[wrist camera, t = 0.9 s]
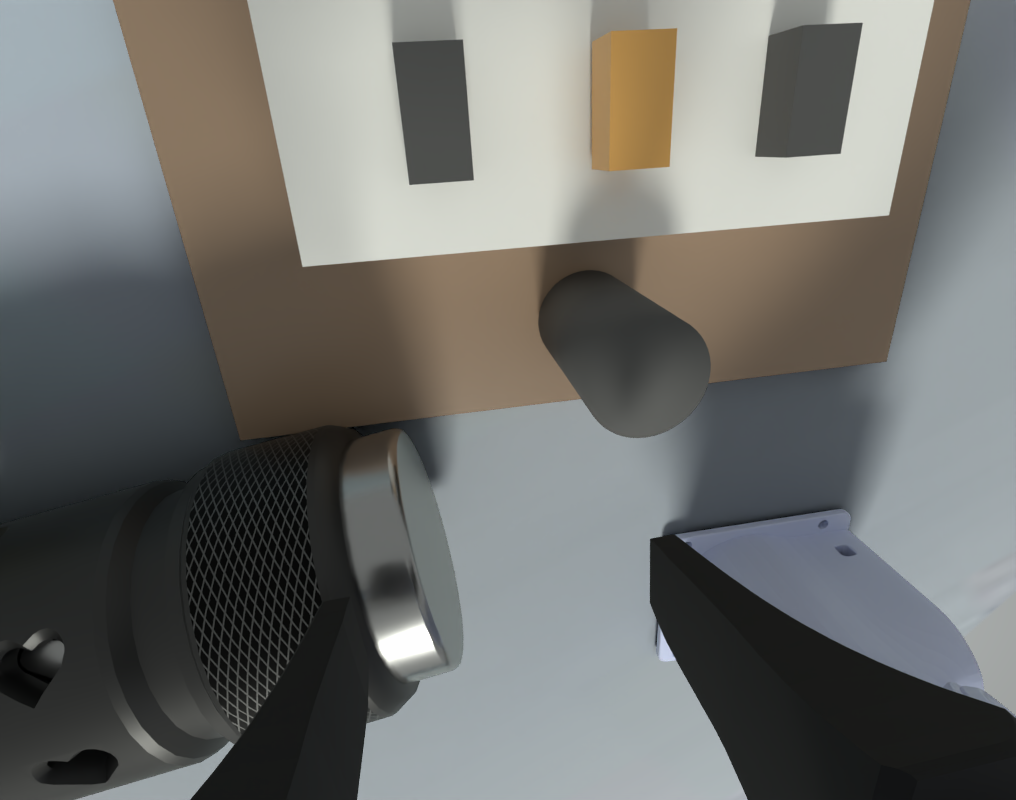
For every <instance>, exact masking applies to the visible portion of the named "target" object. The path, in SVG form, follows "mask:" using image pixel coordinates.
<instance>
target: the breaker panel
mask: <svg viewBox="0 0 1016 800" xmlns="http://www.w3.org/2000/svg"><path fill="white" fill-rule="evenodd" d="M970 1H971V0H113V2H114V5H115V9H116V12H117V16H118V19H119V23H120V26H121V29H122V33H123V36H124V40H125V43H126V47H127V50H128V54H129V57H130V61H131V64H132V67H133V71H134V74H135V78H136V81H137V85H138V88H139V92H140V95H141V99H142V102H143V105H144V109H145V112H146V116H147V119H148V123H149V126H150V130H151V133H152V137H153V140H154V144H155V147H156V150H157V154H158V157H159V161H160V164H161V168H162V171H163V175H164V178H165V182H166V185H167V188H168V192H169V195H170V199H171V202H172V206H173V209H174V213H175V216H176V220H177V223H178V226H179V230H180V233H181V237H182V240H183V244H184V247H185V251H186V254H187V258H188V261H189V264H190V268H191V271H192V275H193V278H194V282H195V285H196V289H197V292H198V296H199V299H200V303H201V306H202V309H203V313H204V316H205V320H206V323H207V327H208V330H209V334H210V337H211V341H212V344H213V347H214V351H215V354H216V358H217V361H218V365H219V368H220V372H221V375H222V379H223V382H224V385H225V389H226V392H227V396H228V399H229V403H230V406H231V410H232V413H233V417H234V420H235V423H236V427H237V430H238V434H239V437H240V441H241V440H249V439H257V438H265V437H273V436H281V435H290V434H296V433H299V432H303V431H307V430H310V429H314V428H318V427H321V426H325V425H334V426H341V427H345V428H347V427H355V426H363V425H371V424H380V423H388V422H396V421H404V420H412V419H420V418H429V417H437V416H445V415H453V414H461V413H469V412H478V411H486V410H494V409H502V408H510V407H518V406H527V405H535V404H543V403H551V402H559V401H567V400H576V399H581V397H580V396H579V395H578V393H577V392H576V390H575V389H574V387H573V386H572V384H571V383H570V382H569V380H568V379H567V377H566V376H565V374H564V373H563V371H562V370H561V369H560V367H559V366H558V364H557V363H556V361H555V360H554V358H553V357H552V355H551V354H550V353H549V351H548V350H547V348H546V347H545V345H544V343H543V341H542V339H541V336H540V332H539V326H538V319H539V312H540V308H541V305H542V303H543V301H544V299H545V297H546V295H547V294H548V292H549V291H550V290H551V288H552V287H553V286H554V285H555V284H556V283H558V282H559V281H560V280H561V279H563V278H565V277H566V276H568V275H571V274H573V273H576V272H579V271H585V270H596V271H601V272H605V273H607V274H610V275H612V276H613V277H615V278H617V279H618V280H620V281H621V282H623V283H625V284H626V285H628V286H629V287H631V288H633V289H634V290H636V291H637V292H639V293H640V294H642V295H644V296H645V297H647V298H648V299H650V300H652V301H653V302H655V303H656V304H658V305H660V306H661V307H663V308H664V309H666V310H667V311H669V312H671V313H672V314H674V315H675V316H677V317H679V318H680V319H682V320H683V321H685V322H687V323H688V324H690V325H691V326H692V327H693V328H695V329H696V330H697V331H698V333H699V334H700V335H701V336H702V338H703V339H704V341H705V343H706V345H707V348H708V351H709V355H710V362H711V372H710V378H709V382H708V383H715V382H723V381H731V380H739V379H747V378H755V377H764V376H772V375H780V374H788V373H796V372H804V371H813V370H821V369H829V368H837V367H845V366H853V365H862V364H870V363H878V362H886V361H887V357H888V352H889V348H890V344H891V339H892V335H893V331H894V327H895V322H896V318H897V314H898V309H899V305H900V301H901V297H902V292H903V288H904V284H905V279H906V275H907V271H908V267H909V262H910V258H911V254H912V249H913V245H914V241H915V236H916V232H917V228H918V224H919V219H920V215H921V211H922V206H923V202H924V198H925V194H926V189H927V185H928V181H929V176H930V172H931V168H932V164H933V159H934V155H935V151H936V146H937V142H938V138H939V134H940V129H941V125H942V121H943V116H944V112H945V108H946V104H947V99H948V95H949V91H950V86H951V82H952V78H953V74H954V69H955V65H956V61H957V56H958V52H959V48H960V43H961V39H962V35H963V31H964V26H965V22H966V18H967V13H968V9H969V5H970ZM671 28H677V43H676V61H675V79H674V97H673V115H672V133H671V151H670V167H661V168H647V169H633V170H620V171H603V170H595V169H592V42H593V41H594V40H596V39H598V38H600V37H602V36H603V35H605V34H607V33H609V32H610V31H623V30H647V29H671Z"/></svg>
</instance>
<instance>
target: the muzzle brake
mask: <svg viewBox="0 0 1016 800" xmlns="http://www.w3.org/2000/svg"><path fill="white" fill-rule="evenodd" d="M345 597H350V598H351V601H352V604H353V608H354V611H355V615H356V618H357V622H358V625H359V629H360V632H361V636H362V639H363V643H364V646H365V649H366V653H367V656H368V660H369V688H368V712H367V721H366V723H369V722H373V721H376V720H379V719H383V718H386V717H389V716H392V715H394V714H395V713H397V712H398V711H399V710H400V708H401V707H402V706H403V705H404V704H405V703H406V702H407V701H408V700H409V699H410V698H411V697H412V696H413V694H414V693H415V692H416V690H417V687H418V685H419V682H420V680H422V679H426V678H429V677H433V676H436V675H439V674H443V673H446V672H449V671H453V670H455V669H456V668H457V667H458V666H459V664H460V663H461V659H462V653H463V623H462V615H461V607H460V600H459V594H458V588H457V583H456V578H455V573H454V568H453V564H452V559H451V554H450V550H449V546H448V542H447V538H446V534H445V530H444V527H443V523H442V519H441V516H440V512H439V509H438V506H437V502H436V499H435V496H434V493H433V490H432V487H431V484H430V481H429V478H428V476H427V473H426V470H425V468H424V465H423V463H422V460H421V458H420V456H419V454H418V452H417V450H416V448H415V446H414V444H413V442H412V441H411V439H410V438H409V436H408V435H407V434H406V433H405V432H404V431H403V430H402V429H396V428H392V429H389V430H385V431H381V432H378V433H374V434H371V435H367V436H362V435H360V434H359V433H358V432H357V431H356V430H353V429H349V428H345V427H341V426H334V425H325V426H321V427H318V428H314V429H310V430H307V431H303V432H299V433H296V434H292V435H289V436H285V437H281V438H278V439H274V440H270V441H267V442H263V443H260V444H256V445H252V446H249V447H245V448H241V449H238V450H234V451H231V452H228V453H226V454H224V455H222V456H220V457H218V458H216V459H214V460H213V461H212V462H211V463H210V464H209V465H208V466H207V467H206V468H204V469H202V470H200V471H198V472H197V474H196V475H195V476H194V477H193V478H192V479H191V480H190V481H189V482H188V483H186V482H181V481H176V480H163V481H155V482H151V483H147V484H144V485H140V486H137V487H133V488H129V489H126V490H122V491H119V492H115V493H111V494H108V495H104V496H100V497H97V498H93V499H90V500H86V501H82V502H79V503H75V504H72V505H68V506H64V507H61V508H57V509H53V510H50V511H46V512H43V513H39V514H35V515H32V516H28V517H25V518H21V519H17V520H14V521H10V522H6V523H3V524H0V800H75V799H78V798H82V797H85V796H89V795H92V794H95V793H99V792H102V791H105V790H109V789H112V788H115V787H119V786H122V785H126V784H129V783H132V782H136V781H139V780H142V779H146V778H149V777H153V776H156V775H159V774H163V773H166V772H169V771H173V770H176V769H179V768H183V767H186V766H190V765H193V764H196V763H200V762H202V761H204V760H205V759H207V758H209V757H210V756H212V755H213V754H215V753H217V752H218V751H219V750H220V749H222V748H223V747H224V746H225V745H226V744H227V743H228V742H229V741H230V742H232V743H233V744H235V743H236V742H237V741H238V739H239V738H240V736H241V735H242V734H243V732H244V731H245V729H246V728H247V727H248V725H249V724H250V722H251V721H252V719H253V718H254V716H255V715H256V713H257V712H258V710H259V709H260V707H261V706H262V704H263V703H264V701H265V700H266V698H267V697H268V695H269V694H270V692H271V691H272V689H273V688H274V686H275V684H276V683H277V681H278V679H279V678H280V676H281V674H282V673H283V671H284V669H285V668H286V666H287V664H288V663H289V661H290V659H291V658H292V656H293V654H294V653H295V651H296V649H297V647H298V645H299V644H300V642H301V640H302V638H303V637H304V635H305V633H306V631H307V629H308V627H309V625H310V624H311V622H312V620H313V618H314V616H315V614H316V612H317V610H318V608H319V606H320V605H321V604H322V603H323V602H324V601H329V600H334V599H339V598H345Z"/></svg>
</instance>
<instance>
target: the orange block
mask: <svg viewBox="0 0 1016 800" xmlns="http://www.w3.org/2000/svg"><path fill="white" fill-rule="evenodd" d="M676 43H677V28H671V29H647V30H623V31H610V32H609V33H607V34H605V35H603V36H602V37H600V38H598V39H596V40H594V41H593V42H592V169H595V170H603V171H620V170H633V169H647V168H661V167H670V151H671V133H672V115H673V97H674V79H675V61H676Z"/></svg>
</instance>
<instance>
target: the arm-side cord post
mask: <svg viewBox="0 0 1016 800" xmlns="http://www.w3.org/2000/svg"><path fill="white" fill-rule="evenodd" d="M538 326H539V332H540V336H541V339H542V341H543V343H544V345H545V347H546V348H547V350H548V351H549V353H550V354H551V355H552V357H553V358H554V360H555V361H556V363H557V364H558V366H559V367H560V369H561V370H562V371H563V373H564V374H565V376H566V377H567V379H568V380H569V382H570V383H571V384H572V386H573V387H574V389H575V390H576V392H577V393H578V395H579V396H580V397H581V399H582V400H583V402H584V403H585V405H586V406H587V408H588V409H589V410H590V412H591V413H592V415H593V416H594V417H595V419H596V420H597V421H598V422H599V423H600V424H601V425H602V426H603V427H604V428H606V429H607V430H609V431H611V432H613V433H615V434H618V435H621V436H625V437H630V438H643V437H650V436H655V435H658V434H661V433H663V432H666V431H668V430H670V429H672V428H673V427H675V426H677V425H678V424H679V423H681V422H682V421H683V420H685V419H686V418H687V417H688V416H689V415H690V414H691V413H692V412H693V411H694V409H695V408H696V407H697V405H698V404H699V403H700V401H701V399H702V397H703V396H704V393H705V391H706V389H707V386H708V382H709V378H710V372H711V362H710V355H709V351H708V348H707V345H706V343H705V341H704V339H703V338H702V336H701V335H700V334H699V333H698V331H697V330H696V329H695V328H693V327H692V326H691V325H690V324H688V323H687V322H685V321H683V320H682V319H680V318H679V317H677V316H675V315H674V314H672V313H671V312H669V311H667V310H666V309H664V308H663V307H661V306H660V305H658V304H656V303H655V302H653V301H652V300H650V299H648V298H647V297H645V296H644V295H642V294H640V293H639V292H637V291H636V290H634V289H633V288H631V287H629V286H628V285H626V284H625V283H623V282H621V281H620V280H618V279H617V278H615V277H613V276H612V275H610V274H607V273H605V272H601V271H596V270H585V271H579V272H576V273H573V274H571V275H568V276H566V277H565V278H563V279H561V280H560V281H559V282H558V283H556V284H555V285H554V286H553V287H552V288H551V290H550V291H549V292H548V294H547V295H546V297H545V299H544V301H543V303H542V305H541V308H540V312H539V319H538Z"/></svg>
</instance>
